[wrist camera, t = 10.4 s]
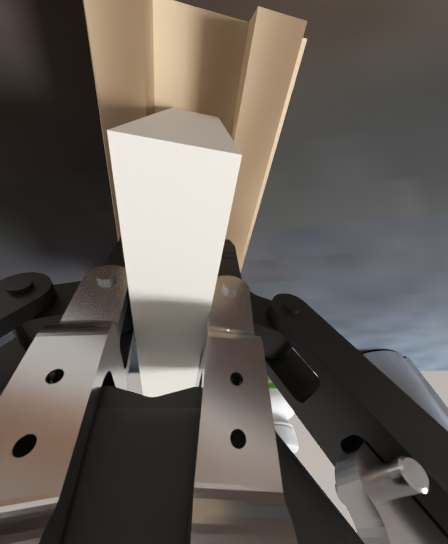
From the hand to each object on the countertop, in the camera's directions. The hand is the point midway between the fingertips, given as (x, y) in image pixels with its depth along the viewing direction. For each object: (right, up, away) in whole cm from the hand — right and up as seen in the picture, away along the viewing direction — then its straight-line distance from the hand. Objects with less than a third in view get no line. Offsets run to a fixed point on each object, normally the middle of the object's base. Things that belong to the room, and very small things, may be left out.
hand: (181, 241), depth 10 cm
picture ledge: (0, +3, +3) cm, 4 cm away
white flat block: (0, +2, +2) cm, 3 cm away
